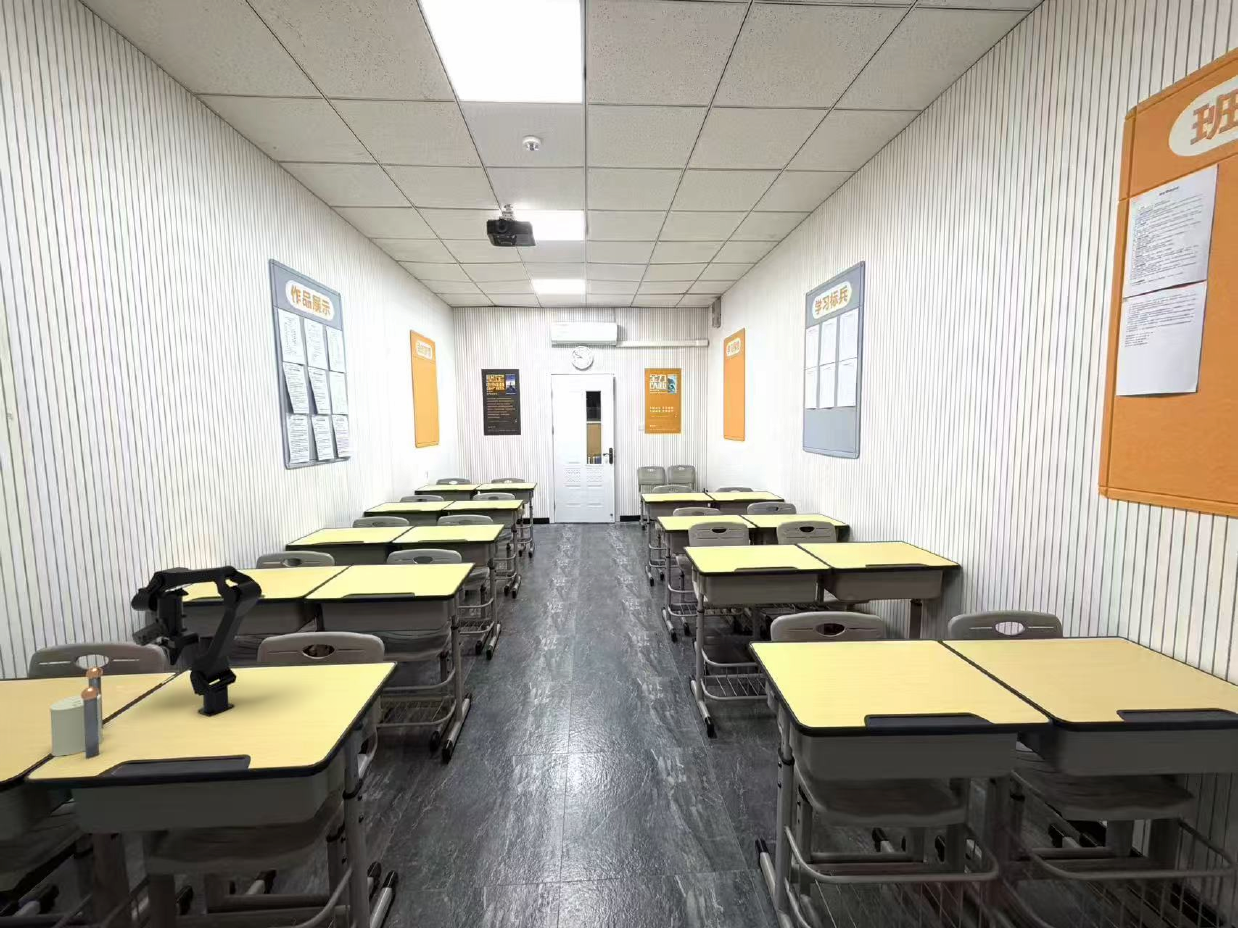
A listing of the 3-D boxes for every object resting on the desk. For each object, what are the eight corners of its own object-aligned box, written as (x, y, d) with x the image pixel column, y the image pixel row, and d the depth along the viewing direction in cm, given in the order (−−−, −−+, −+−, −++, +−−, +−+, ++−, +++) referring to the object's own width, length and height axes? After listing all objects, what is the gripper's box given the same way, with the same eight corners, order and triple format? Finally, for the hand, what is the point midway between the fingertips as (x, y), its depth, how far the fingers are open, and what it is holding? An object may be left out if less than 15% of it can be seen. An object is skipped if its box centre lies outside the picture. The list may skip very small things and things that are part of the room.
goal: (101, 755, 132) (98, 687, 132) (82, 760, 130) (80, 691, 129) (105, 725, 147) (102, 663, 147) (88, 729, 145) (86, 667, 145)
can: (55, 760, 130) (53, 711, 130) (48, 748, 135) (46, 701, 135) (107, 743, 137) (105, 696, 137) (98, 733, 143) (96, 688, 143)
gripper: (119, 615, 154) (121, 670, 154) (153, 624, 146) (155, 681, 146) (166, 605, 164) (168, 656, 164) (200, 612, 156) (201, 666, 156)
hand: (172, 665), depth 157 cm, fingers closed
